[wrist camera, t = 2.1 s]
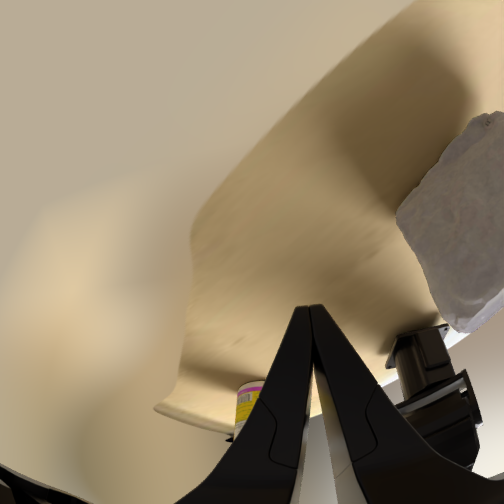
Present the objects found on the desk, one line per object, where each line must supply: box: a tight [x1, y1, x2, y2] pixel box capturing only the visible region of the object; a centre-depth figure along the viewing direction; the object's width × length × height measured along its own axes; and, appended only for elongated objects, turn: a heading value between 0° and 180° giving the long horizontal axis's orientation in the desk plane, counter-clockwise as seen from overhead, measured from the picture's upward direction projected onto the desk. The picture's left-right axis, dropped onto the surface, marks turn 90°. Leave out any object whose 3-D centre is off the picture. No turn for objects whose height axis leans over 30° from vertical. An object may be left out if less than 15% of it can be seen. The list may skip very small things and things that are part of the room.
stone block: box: [396, 111, 504, 333], centre depth 11 cm, size 12×5×10 cm, turn 146°
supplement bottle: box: [234, 381, 265, 440], centre depth 28 cm, size 7×7×13 cm
